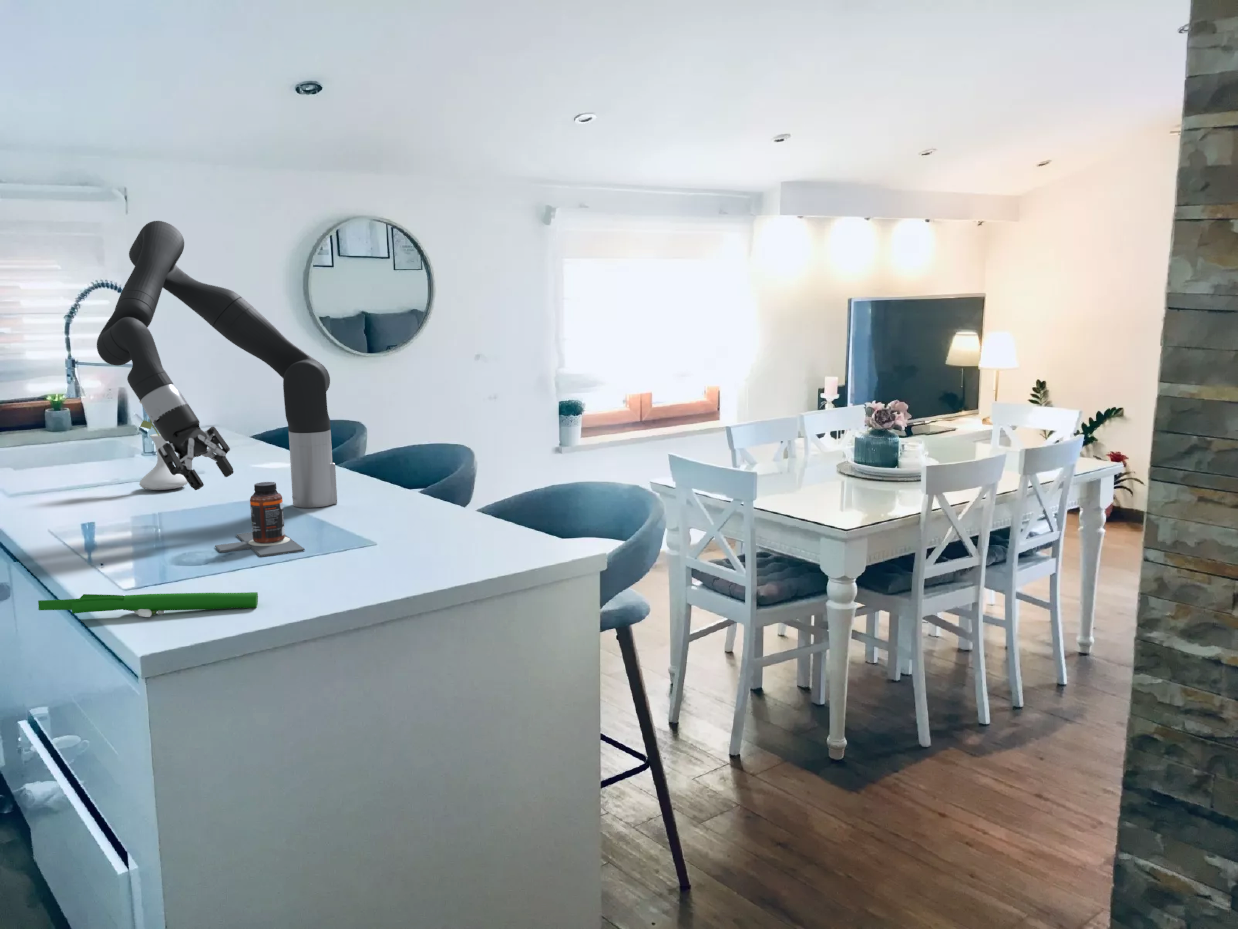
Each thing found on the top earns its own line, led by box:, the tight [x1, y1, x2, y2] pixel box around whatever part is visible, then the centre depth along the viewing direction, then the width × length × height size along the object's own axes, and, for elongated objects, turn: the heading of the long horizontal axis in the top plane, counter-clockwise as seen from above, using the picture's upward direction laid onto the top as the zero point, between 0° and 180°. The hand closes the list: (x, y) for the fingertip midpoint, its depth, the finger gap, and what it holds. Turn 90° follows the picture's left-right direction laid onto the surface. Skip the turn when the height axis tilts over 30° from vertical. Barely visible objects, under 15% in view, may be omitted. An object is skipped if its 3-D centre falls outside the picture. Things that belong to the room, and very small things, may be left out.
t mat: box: [214, 531, 306, 558], centre depth 190 cm, size 14×20×1 cm
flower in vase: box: [138, 400, 189, 491], centre depth 247 cm, size 13×11×25 cm
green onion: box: [37, 591, 259, 618], centre depth 147 cm, size 5×3×30 cm
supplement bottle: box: [249, 481, 286, 543], centre depth 191 cm, size 6×6×11 cm
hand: (215, 481), depth 197 cm, fingers open, 8 cm apart
